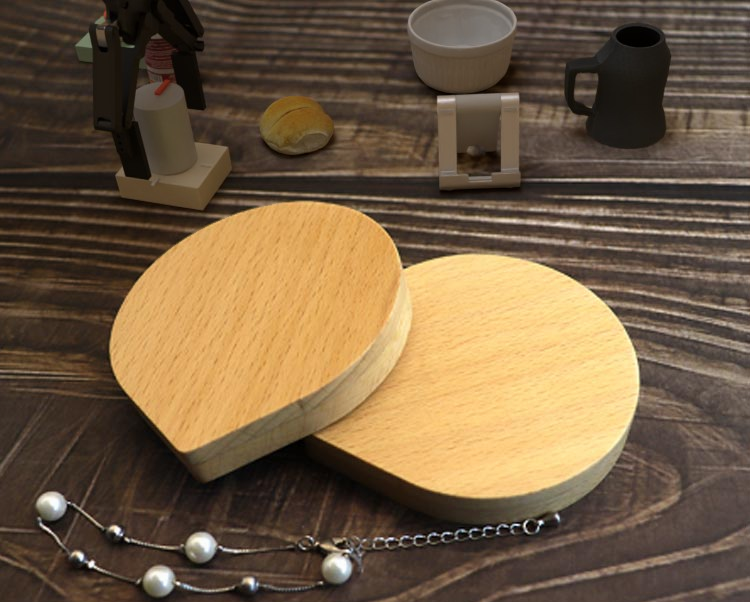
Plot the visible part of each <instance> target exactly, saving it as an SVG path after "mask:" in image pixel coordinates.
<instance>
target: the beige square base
mask: <svg viewBox="0 0 750 602" xmlns="http://www.w3.org/2000/svg"><path fill="white" fill-rule="evenodd" d="M194 142H195V147H196V152H197V161H196V163H195V164H194V165H193V166H192V167H191V168H189V169H188V170H186V171H184V172H181V173H178V174H173V175H161V174H157V173H154V172H152V171H151V170H150V171H151V175H152V177H151V178H150V179H149V180H143V179H137V178H130V177H125V174H124V170H123V167H122V166H121V168H120V169H119V170H118V171H117V172H116V174H115V175H114V177H115V180H116V183H117V187H118V190H119V194H120V197H121V198H123V199H129V200H135V201H140V202H147V203H153V204H160V205H166V206H172V207H178V208H184V209H191V210H197V211H204V210H205V208H206V207H207V206H208V205H209V203H210V202H211V200H212V199H213V198H214V196H215V195H216V193H217V192H218V190H219V189H220V187H221V186H222V184H223V183H224V181H225V180H226V178H228V176H229V174H230V173H231V172H232V171H233V167H232V161H231V154H230V149H229V146H225V145H219V144H218V145H217V144H213V143H205V142H196V141H194Z"/></svg>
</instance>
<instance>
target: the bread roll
mask: <svg viewBox="0 0 750 602" xmlns="http://www.w3.org/2000/svg"><path fill="white" fill-rule="evenodd" d="M334 131H335V124H334V121H333V119H332V117H331V116H330V115H328V114H327V113H325V110H324V108H323V107H322V105H321V104H319V102H317V101H316V100H315V99H312V98H311V97H308V96H304V95H289V96H284V97H282V98H278V99H277V100H275V101H274V102H272V103H271V104H269V106H268V107H267V108H266V110H265V111H264V113H263V114H262V117H261V120H260V124H259V133H260V136H261V138H262V139H263V141H264V142H265V143H266V144H267V145H268V147H269V148H271V149H272V150H273V151H274V152H277V153H280V154H283V155H287V156H288V155H289V156H297V155H303V154H307V153H312V152H315V151H318V150H320V149H322V148H324V147H325V146H326V145H327V144H328V143H329V141H330V139H331V138H332V136H333V135H334Z"/></svg>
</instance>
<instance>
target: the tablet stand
mask: <svg viewBox="0 0 750 602" xmlns="http://www.w3.org/2000/svg"><path fill="white" fill-rule="evenodd" d="M436 110H437V111H436V112H437V113H436V114H437V139H438V140H437V142H438V183H439V184H438V186H439V188H438V189H439V191H453V190H472V189H475V190H476V189H477V190H478V189H499V188H500V189H502V188H507V189H512V188H520V187H521V179H522V177H521V176H522V173H521V171H520V92H517V91H515V92H498V93H494V92H493V93H469V94H450V95H449V94H448V95H436ZM499 131H500V171H497V172H491V175H479V176H469V173H458V156H457V155H458V154H463V153H464V154H465V153H467V152H468V149H469V147H479V146H481V147H482V148H483V150H484V153H487V152H489V153H490V152H491V153H492V152H496V151H497V150H498V141H499V140H498V139H499Z"/></svg>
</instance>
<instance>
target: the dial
mask: <svg viewBox="0 0 750 602" xmlns="http://www.w3.org/2000/svg"><path fill="white" fill-rule="evenodd" d="M188 110H189V109H187V105H186V100H185V95H184V91H183V89H182V88H181V87H180V86H179V85H177V84H174V83H170V80H166V79H165V80H164V82H155V83H147V84H145V85H142V86H140V87H139V88H136V95H135V103H134V111H133V118H134V121H137V122H138V124H139V128H140V132H141V136H142V140H143V144H144V148H145V152H146V155H147V159H148V163H149V167H150V170H151V171H152V172H154V173H157V174H161V175H173V174H178V173H181V172H184V171H186V170H188V169H189V168H191V167H192V166H193V165H194V164H195V163H196V161H197V152H196V147H195V142H196V141H195V137H194V134H193V129H192V123H191V119H190V114H189V111H188Z"/></svg>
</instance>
